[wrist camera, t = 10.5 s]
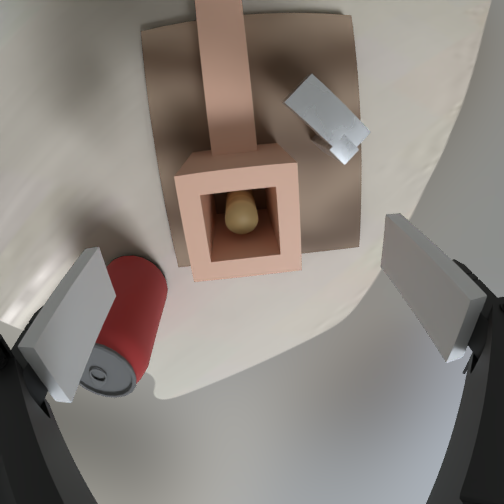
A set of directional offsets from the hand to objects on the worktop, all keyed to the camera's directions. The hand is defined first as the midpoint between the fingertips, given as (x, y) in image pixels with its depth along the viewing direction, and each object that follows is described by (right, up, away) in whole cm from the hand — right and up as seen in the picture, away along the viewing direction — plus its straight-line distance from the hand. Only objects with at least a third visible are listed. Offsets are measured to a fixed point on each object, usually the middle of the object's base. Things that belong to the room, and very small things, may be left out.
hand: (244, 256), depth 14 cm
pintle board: (+1, +9, +10) cm, 14 cm away
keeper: (+5, +11, +10) cm, 16 cm away
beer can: (-11, -3, +16) cm, 19 cm away
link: (-1, +10, +8) cm, 13 cm away
